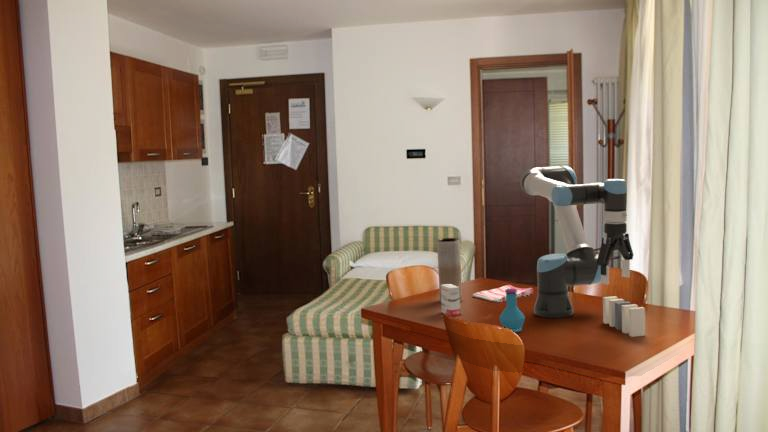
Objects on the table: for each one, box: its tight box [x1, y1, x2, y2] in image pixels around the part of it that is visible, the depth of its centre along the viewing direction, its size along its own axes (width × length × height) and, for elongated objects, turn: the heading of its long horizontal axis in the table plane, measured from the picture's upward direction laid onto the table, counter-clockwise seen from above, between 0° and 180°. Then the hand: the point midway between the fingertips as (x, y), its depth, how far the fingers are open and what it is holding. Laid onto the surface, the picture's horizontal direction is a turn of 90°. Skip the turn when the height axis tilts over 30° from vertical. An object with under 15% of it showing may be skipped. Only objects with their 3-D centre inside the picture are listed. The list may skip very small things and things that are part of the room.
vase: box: [436, 237, 463, 303], centre depth 287 cm, size 10×10×28 cm
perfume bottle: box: [498, 288, 526, 333], centre depth 238 cm, size 9×9×15 cm
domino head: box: [602, 295, 619, 325], centre depth 240 cm, size 2×5×10 cm, turn 99°
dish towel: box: [472, 284, 534, 304], centre depth 295 cm, size 17×23×4 cm
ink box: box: [440, 284, 462, 317], centre depth 266 cm, size 8×5×12 cm, turn 20°
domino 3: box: [621, 303, 639, 334], centre depth 227 cm, size 2×5×10 cm, turn 99°
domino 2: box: [615, 301, 632, 331], centre depth 231 cm, size 2×5×10 cm, turn 99°
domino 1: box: [609, 298, 625, 328], centre depth 236 cm, size 2×5×10 cm, turn 99°
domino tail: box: [628, 306, 646, 338], centre depth 223 cm, size 2×5×10 cm, turn 99°
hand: (615, 280), depth 235 cm, fingers open, 13 cm apart
